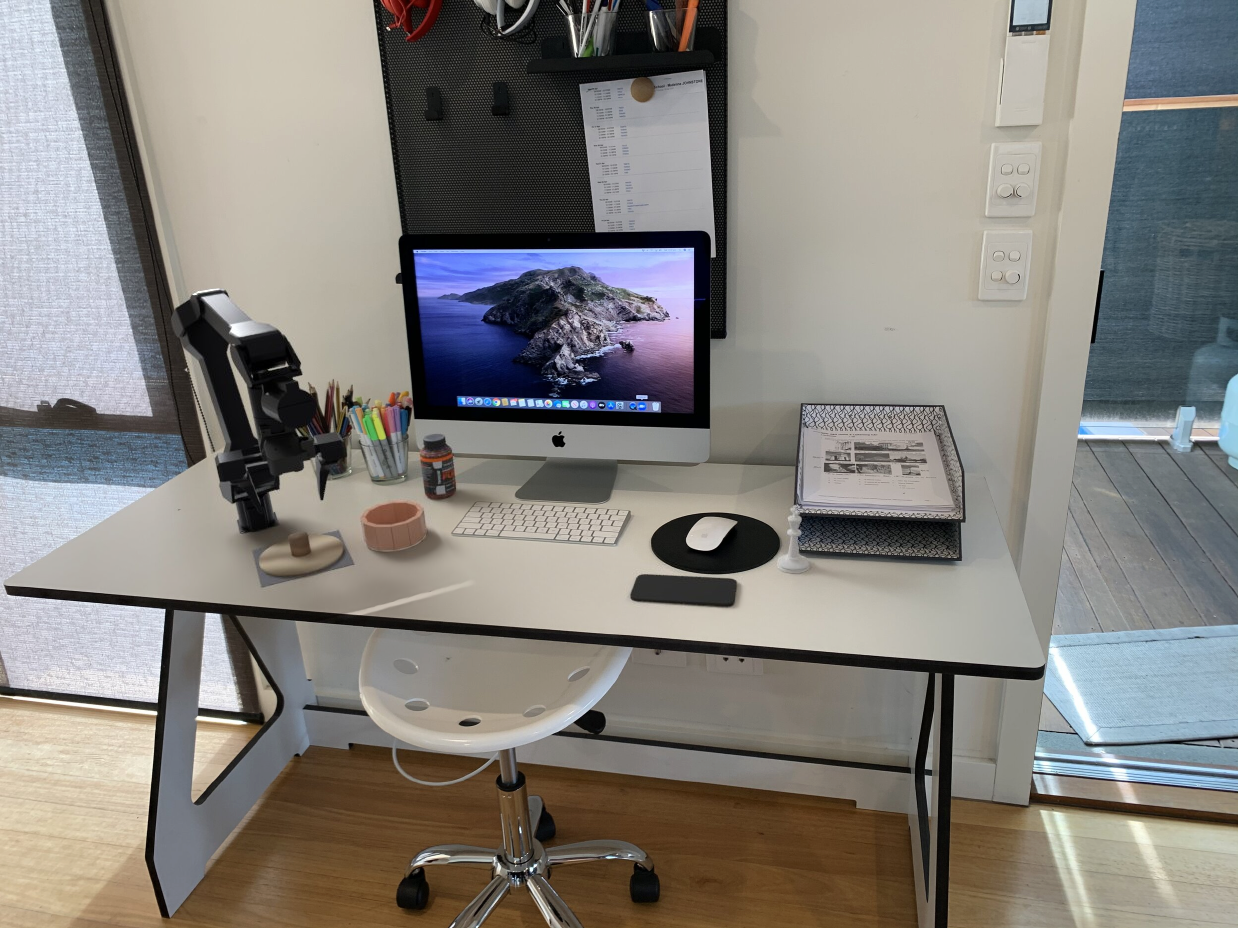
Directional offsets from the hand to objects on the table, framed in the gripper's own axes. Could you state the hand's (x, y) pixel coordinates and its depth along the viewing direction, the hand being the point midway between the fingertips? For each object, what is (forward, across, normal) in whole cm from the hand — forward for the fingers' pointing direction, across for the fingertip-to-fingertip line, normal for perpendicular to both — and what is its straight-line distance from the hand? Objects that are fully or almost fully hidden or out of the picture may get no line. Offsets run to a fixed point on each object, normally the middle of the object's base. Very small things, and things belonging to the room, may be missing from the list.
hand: (291, 506), depth 142 cm
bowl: (+10, +15, -1) cm, 18 cm away
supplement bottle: (+10, +27, +14) cm, 32 cm away
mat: (+10, 0, 0) cm, 10 cm away
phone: (+10, +48, -40) cm, 63 cm away
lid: (+9, 0, 0) cm, 9 cm away
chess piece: (+10, +66, -42) cm, 79 cm away
